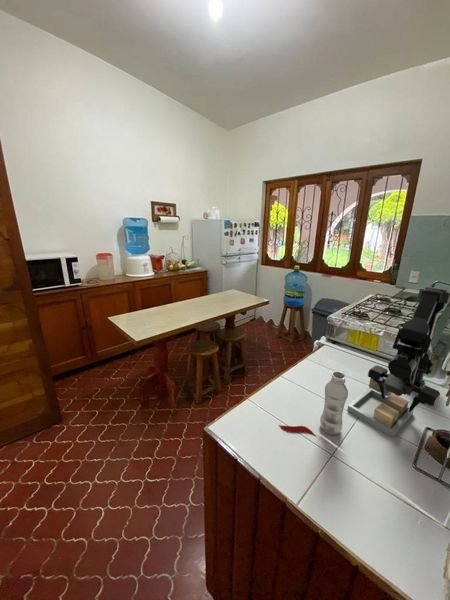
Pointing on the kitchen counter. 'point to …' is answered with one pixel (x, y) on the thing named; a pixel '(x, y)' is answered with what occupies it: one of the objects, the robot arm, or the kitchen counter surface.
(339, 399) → the plastic bottle
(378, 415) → the block
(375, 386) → the block
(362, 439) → the kitchen counter surface
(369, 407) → the tray
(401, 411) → the block
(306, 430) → the cayenne pepper
